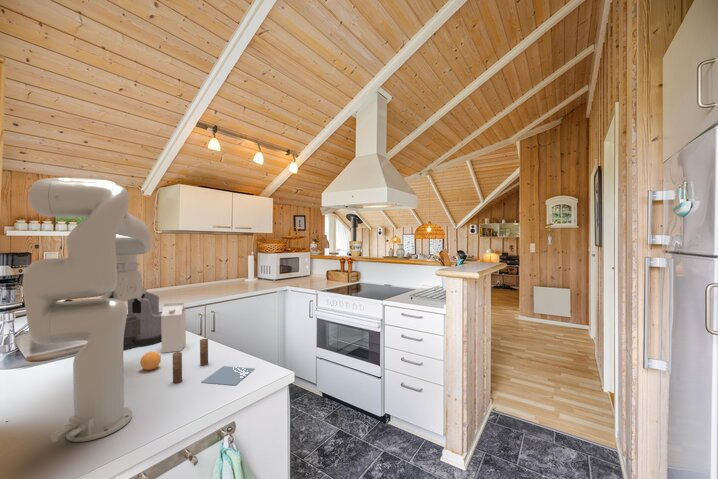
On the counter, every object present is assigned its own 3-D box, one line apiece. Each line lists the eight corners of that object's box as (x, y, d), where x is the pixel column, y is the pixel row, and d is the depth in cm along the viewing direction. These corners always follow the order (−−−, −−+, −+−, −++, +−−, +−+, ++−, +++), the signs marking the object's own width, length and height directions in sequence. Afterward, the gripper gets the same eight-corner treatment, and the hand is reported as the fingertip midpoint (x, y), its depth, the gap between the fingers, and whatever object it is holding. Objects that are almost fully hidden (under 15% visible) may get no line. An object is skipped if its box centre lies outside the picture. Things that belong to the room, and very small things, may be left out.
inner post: (178, 383, 98) (177, 355, 98) (170, 383, 99) (170, 355, 98) (184, 379, 101) (183, 352, 101) (176, 379, 101) (176, 352, 101)
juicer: (160, 332, 150) (160, 281, 149) (177, 338, 141) (176, 284, 140) (79, 351, 125) (78, 291, 124) (93, 361, 116) (92, 296, 115)
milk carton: (166, 346, 130) (166, 301, 129) (185, 345, 132) (185, 300, 132) (161, 353, 123) (160, 305, 123) (181, 351, 125) (181, 304, 125)
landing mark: (235, 385, 97) (235, 385, 97) (201, 382, 99) (201, 382, 99) (254, 369, 109) (254, 368, 109) (223, 366, 111) (223, 366, 111)
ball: (151, 373, 105) (151, 356, 105) (135, 372, 106) (135, 354, 106) (165, 366, 111) (164, 349, 111) (150, 364, 112) (150, 348, 112)
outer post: (205, 366, 111) (204, 341, 111) (198, 365, 112) (198, 340, 111) (209, 363, 114) (209, 338, 114) (203, 362, 114) (203, 338, 114)
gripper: (110, 271, 101) (111, 323, 101) (153, 265, 118) (154, 310, 118) (90, 270, 102) (91, 322, 102) (136, 265, 119) (137, 309, 119)
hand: (125, 316), depth 110 cm, fingers open, 8 cm apart
